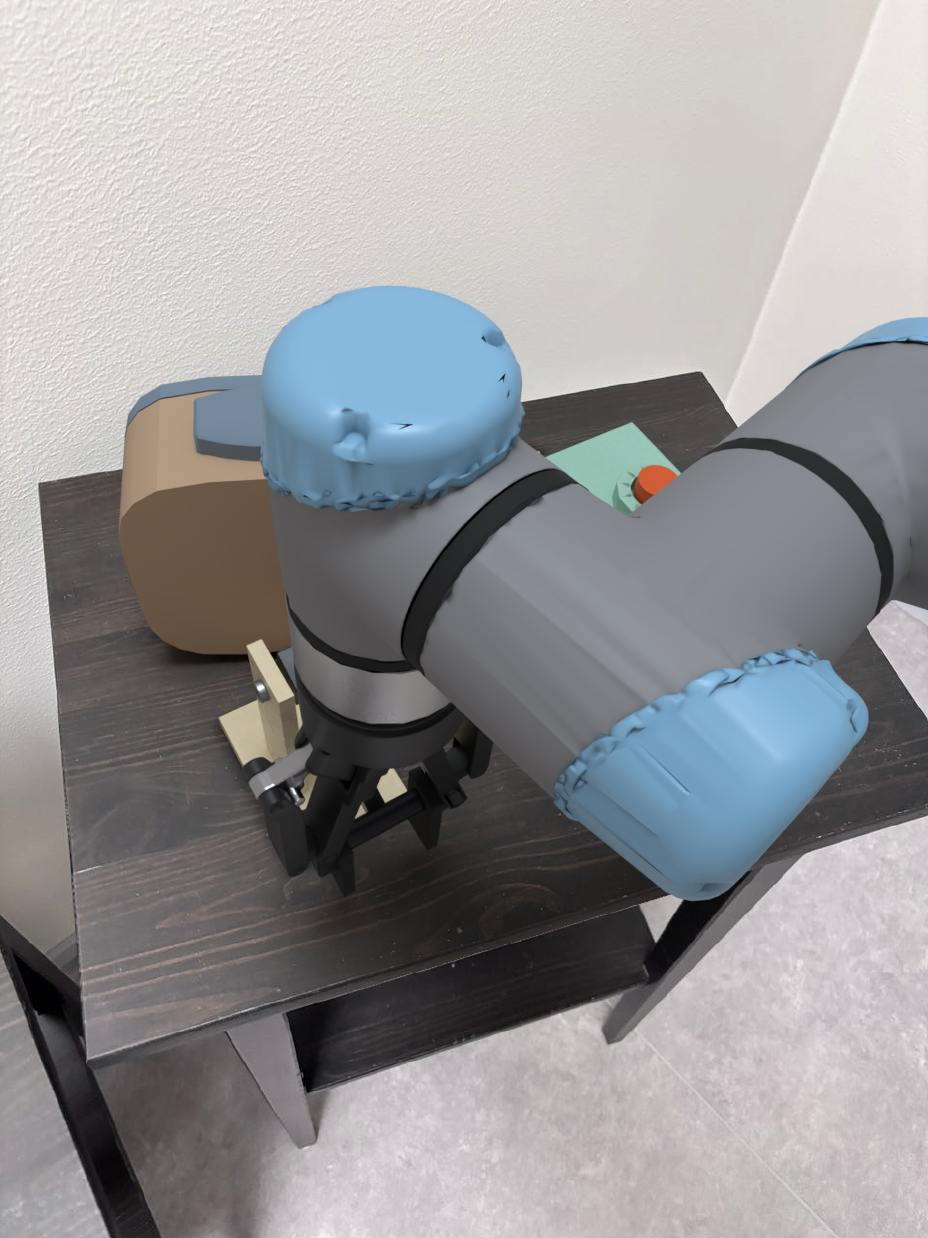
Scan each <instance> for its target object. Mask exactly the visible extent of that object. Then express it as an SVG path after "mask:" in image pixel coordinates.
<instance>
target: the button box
mask: <svg viewBox="0 0 928 1238" xmlns="http://www.w3.org/2000/svg"><path fill="white" fill-rule="evenodd" d="M544 457H545V458H547V459H548V460H549V461H551V462H552V463H554V464H555V465H556V466H558V467H559V468H560V469H562V470H563V471H564V472H566V473H567V474H568V475H569V476H570V477H572V478H573V479H574V480H576V481H577V482H578V483H579V484H581V485H583V486H584V487H586V488H587V489H588V490H589V491H590V492H591V493H592V494H593V495H595V496H596V497H598V498H600V499H601V500H603V501H604V502H606V503H608V504H609V505H611V506H612V507H614V508H616V509H617V510H619V511H620V512H622V513H624V514H625V515H628V514H630V513H632V512H633V511H634V510H636V509H637V508H638V507H639V506H641V505H642V504H641V503H639V502H638V500H637V499H636V498H635V496H634V491H633V490H634V486H635V483H636V480H637V477H638V474H639V472H640V471H641V470H642V469H643V468H645V467H647V466H650V465H660V466H664V467H667V468H669V469H671V470H672V471H673V472H674V473H675V474H676V475H677V476H679V475H680V474H681V473H682V472H681V471H679V469H678V468H677V467H676V466H675V465H674V464H673V463H672V462H671V461H670V460H669V459H668V458H667V457H666V456H665V455H664V453H662V451H661V450H660V449H659V448H658V447H657V446H656V445H655V444H654V443H653V442H652V441H651V440H650V439H649V437H647V436H646V435H645V434H644V433H643V432H642V431H641V430H640V429H639V428H638V426H637V425H636V424H635V423H634V422H632V421H631V422H629V423H626V424H623V425H621V426H619V427H617V428H613V429H611V430H609V431H607V432H604V433H601V434H599V435H597V436H594V437H592V438H589V439H587V440H584V441H582V442H579V443H577V444H575V445H572V446H570V447H567V448H564V449H562V450H559V451H557V452H554V453H552V454H550V455H549V454H548V455H547V456H544Z"/></svg>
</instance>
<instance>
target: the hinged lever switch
mask: <svg viewBox="0 0 928 1238" xmlns="http://www.w3.org/2000/svg"><path fill="white" fill-rule="evenodd" d="M246 647H247V652H248V654H247V658H248V661H249V666H250V671H251V676H252V680H253V681H252V683H251V685H252V688H253V690H254V693H255V695H256V700H254V701H252V702H249V703H247V704H245V705H243V706H240V707H238V708H236V709H234V710H231V711H230V712H228V713H225V714H223V715H221V716H219V717H218V721H219V724H220V727H221V730H222V731H223V733H224V735H225V737H226V739H227V741H228V743H229V745H230V747H231V749H232V750H233V753H234V754H235V756H236V758H237V760H238V762H239V764H240V766H241V769H242V768H243V766H244V765H245V764H246V763H247V762H249V761H250V760H252V759H254V758H258V757H264V758H266V759H267V760H269V761H270V762H273V761H274V760H275V759H277V758H284V757H286V756H287V755H289V754H290V753H292V752H293V751H295V746H294V741H295V737H296V735H297V733H298V731H299V730H300V728H301V726H302V718H301V714H300V708H299V704H298V705H296V704H295V697H294V694H293V692H292V691H291V689H290V687H289V685H288V684H287V682H286V680H285V678H284V677H283V675H282V673H281V672H280V670H279V668H278V666H277V665H276V664H277V662H276V661H275V660H274V658H273V656H272V654H271V652H269V651H268V649H267V647H266V646H265V644H264V642H263V640H262V639H261V640H258V641H256V642H254V643H251V644H249V645H247V646H246ZM316 778H317V776H315V775H312V774H311V773H310V774H308V775H307V776H306V778H305V779H304V784H305V785H304V787H303V789H302V790H301V792H302V794H303V796H304V797H305V802H304V803H303V804H302V805H300V808H301V810H304V809H306V807H307V804H308V801H309V798H310V795H311V792H312V789H313V786H314V784H315V781H316ZM377 788H378V790H379V792H380V794H381V796H382V798H383V800H384V802H385V803H386V802H387V801H389V800H391V799H393V798H395V797H397V796H399V795H401V794H403V793H404V792H406V791H407V788H406V786H405V784H404V783H403V781H402V779H401V778H400V776H399V774H398V773H397V771H396V769H395V768H394V769H389V771H388V773H387V774H386V775H384V776H381V779H380V781H379V783H378V786H377ZM363 814H365V811H364V809H363V807H362V805H360V808H359V810H358V813H357V815H356V817H355V818H357V817H359V816H361V815H363Z"/></svg>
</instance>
